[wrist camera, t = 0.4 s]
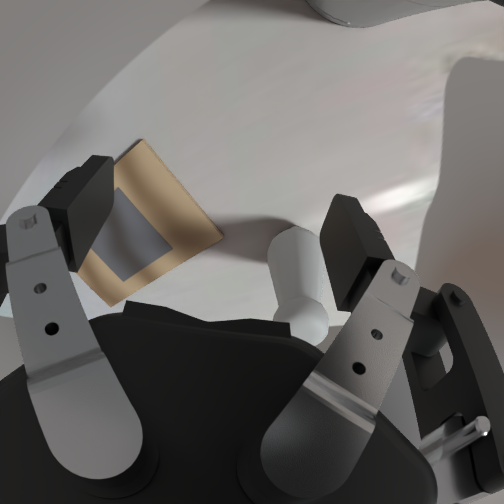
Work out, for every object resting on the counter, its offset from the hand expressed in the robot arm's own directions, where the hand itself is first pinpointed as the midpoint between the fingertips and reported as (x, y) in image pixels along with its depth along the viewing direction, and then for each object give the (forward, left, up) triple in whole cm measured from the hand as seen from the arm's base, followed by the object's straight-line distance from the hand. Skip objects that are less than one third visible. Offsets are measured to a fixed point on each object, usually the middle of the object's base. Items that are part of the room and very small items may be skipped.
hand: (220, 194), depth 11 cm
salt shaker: (+9, +11, -19) cm, 24 cm away
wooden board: (+20, -5, -19) cm, 28 cm away
